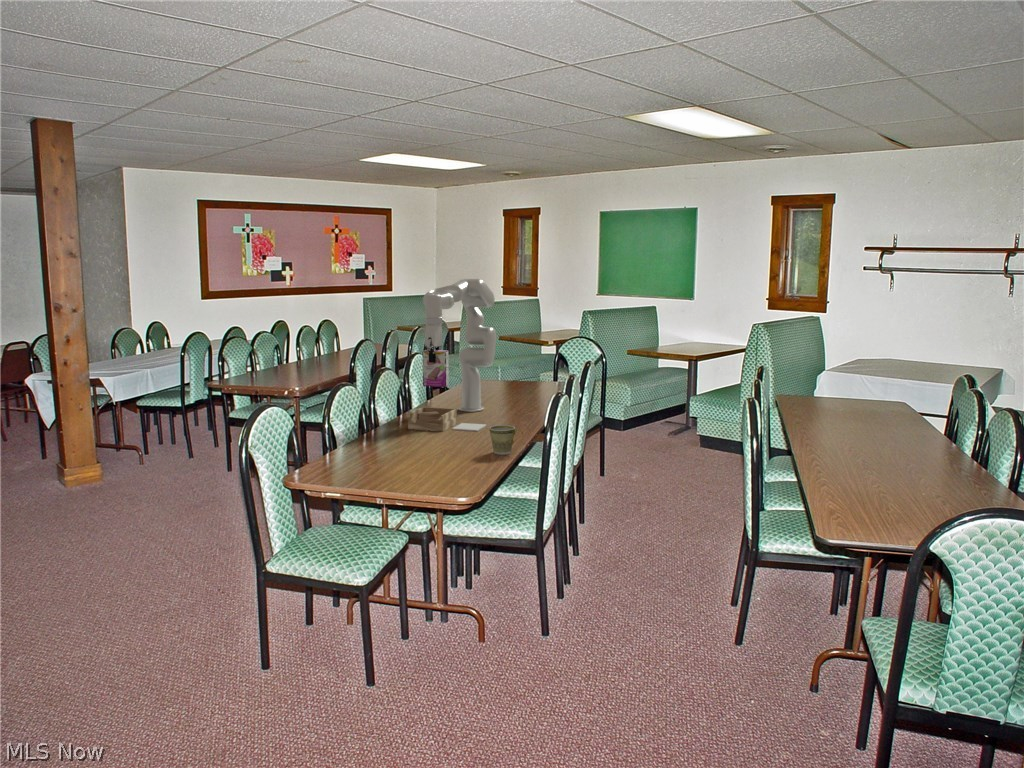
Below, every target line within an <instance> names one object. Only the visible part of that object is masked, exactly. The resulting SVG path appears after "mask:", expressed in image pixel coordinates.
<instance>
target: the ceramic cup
mask: <svg viewBox="0 0 1024 768" xmlns="http://www.w3.org/2000/svg"><path fill="white" fill-rule="evenodd" d="M488 429H489V432H490V433H489V434H490V439H491V444H492V450H493V454H494V455H498V456H499V455H501V456H506V455H510V454H511V453H512V447H513V445H514V444H515V443H516V442H517V440H518V439H520V438H521V437H523V435H524V433H523V431H522V429H516V426H513V425H510V424H509V425H508V424H506V425H505V424H499V425H492V426H489V428H488ZM518 432H521V435H520V436H518V437H517V438H516V439H515V440H514V437H515V435H516V433H518Z"/></svg>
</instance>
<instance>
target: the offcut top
mask: <svg viewBox="0 0 1024 768" xmlns="http://www.w3.org/2000/svg"><path fill="white" fill-rule="evenodd" d="M417 418H418V419H419V420H432V419H440V413H438V412H437V411H436V412H422V413H417Z"/></svg>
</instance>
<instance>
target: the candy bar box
mask: <svg viewBox="0 0 1024 768" xmlns="http://www.w3.org/2000/svg"><path fill="white" fill-rule="evenodd" d="M435 354H436V362H435V363H430V362H429V354H428V349H425V350H422V386H423V387H428V388H429V387H430V388H431V387H432V388H447V387H448V386H450V385H449V384H450V383H449V382H450V380H449V379H450V377H449V374H450V373H449V366H450V365H449V363H450V362H449V350H442V349H441V350H435Z"/></svg>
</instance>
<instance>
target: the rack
mask: <svg viewBox="0 0 1024 768" xmlns="http://www.w3.org/2000/svg"><path fill="white" fill-rule="evenodd" d="M436 411H437V412H438V413H440V418H441V424H429V423H416V419H417V413H422V412H436ZM457 411H458V409H457V408H449V407H448V408H447V407H446V408H445V407H432V406H431V407H428V406H423V407H420V408H417V409H416V410H414V411H411V412H409V413H407V418H408V419H407V421H408V422H407V429H408V430H413V429H414V430H416V431H428V430H430V432H431V431H432V432H445V431H446V430H448V429H450V428H453V427H455V426H457V425H458V414H457V413H458V412H457Z"/></svg>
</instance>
